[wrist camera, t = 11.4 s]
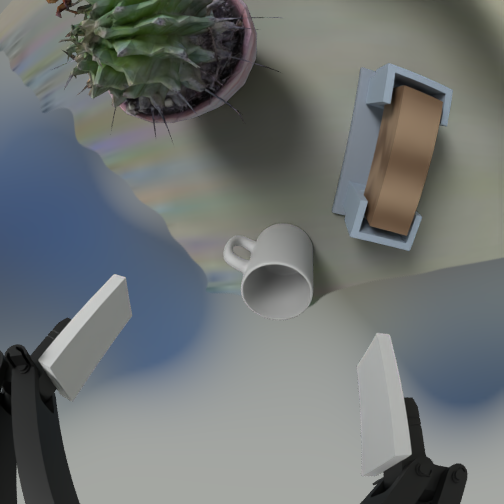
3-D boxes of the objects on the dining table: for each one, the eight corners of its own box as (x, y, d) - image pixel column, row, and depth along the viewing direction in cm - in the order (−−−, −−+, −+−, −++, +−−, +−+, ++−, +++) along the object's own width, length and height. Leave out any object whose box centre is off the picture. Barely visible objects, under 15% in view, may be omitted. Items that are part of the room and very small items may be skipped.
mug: (323, 239, 39) (328, 282, 30) (295, 281, 43) (291, 330, 34) (248, 201, 38) (228, 234, 29) (226, 248, 43) (203, 290, 33)
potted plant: (245, 158, 36) (150, 240, 14) (134, 96, 33) (-14, 116, 12) (319, 50, 27) (344, -54, 5) (194, -6, 24) (79, -81, 3)
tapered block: (387, 89, 24) (404, 85, 19) (421, 102, 24) (443, 101, 19) (360, 206, 32) (370, 226, 27) (392, 215, 31) (406, 235, 26)
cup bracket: (360, 68, 27) (377, 55, 19) (429, 92, 26) (461, 90, 18) (331, 209, 37) (338, 238, 29) (396, 225, 36) (416, 256, 28)
